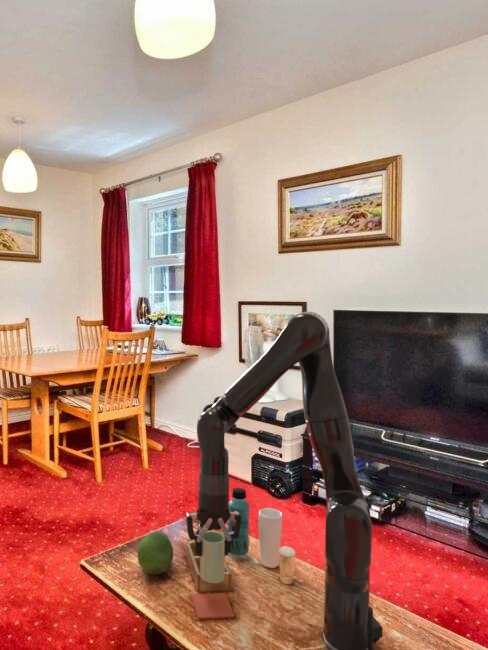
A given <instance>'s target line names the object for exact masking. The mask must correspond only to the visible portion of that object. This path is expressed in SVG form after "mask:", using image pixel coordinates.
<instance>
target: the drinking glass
mask: <svg viewBox="0 0 488 650" xmlns="http://www.w3.org/2000/svg"><path fill="white" fill-rule="evenodd" d="M283 522H284V521H283V512H281V511H280V510H279V509H276V508H273V507H264V508H263V507H262V508H261V509H260V510H258V517H257V523H258V524H257V525H258V526H257V527H258V539H259V540H258V541H259V542H258V543H259V556H260V557H259V560H260V564H261V565H262V566H264V567H265V568H269V569H274V568H277V567H278V566H280V563H279V549H280V548H281V547H282V546H281V545H282V538H283V537H282V536H283V525H284V524H283Z"/></svg>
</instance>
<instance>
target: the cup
mask: <svg viewBox="0 0 488 650" xmlns="http://www.w3.org/2000/svg"><path fill="white" fill-rule="evenodd" d="M201 541H202V556H200V577H201V578H202V579H203V580H204V581H206V582H208V583H220V582H222V581H223V580H224V577H225V561H226V556H225V535H224V533H221V532H219V531H216V530H215V531H214V530H207V532H206V534H205V535H204V536H203V538H202V540H201Z"/></svg>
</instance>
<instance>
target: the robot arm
mask: <svg viewBox="0 0 488 650" xmlns="http://www.w3.org/2000/svg"><path fill="white" fill-rule="evenodd" d="M332 355H333V354H332V349H331V338H330V328H329V324H328V322H327V320H325V318H324V317H323V316H322V315H320V314H319V313H317V312H314V311H302V312H299V313H297V314H295V315H293V316H292V317H290V319H289V320H288V321H287V322H286V325H285V326H284V328H283V330H281V332H280V334H279V335H278V336H277V338H276V339H275V341H274V342H273V343H272V344H271V346H269V348H268V349H267V350H266V352H265V353H264V354H263V355H261V357H260V358H259V359H258V360H256V362H254V363H253V364H252V365H250V367H248V369H247V370H245V371H244V372H243V373H242V374H241V375H240V376H239V377H238V378H237V379H236V380H235V381H234V382H233V383H232V384H231V385H230V386H229V387H228V388H227V389H226V390H225V391H224V393H223V396H221V397H220V398H219V399H218V400H217V401H216V402H215V403H214V404H213V405H212V406H211V407H209V408H207V409H206V410H205V411H203V412H202V413H201V414H200V415H199V417H198V418H197V423H196V438H197V442H198V447H199V448H198V449H199V453H200V455H199V475H198V482H197V487H198V496H197V497H198V499H197V500H198V502H197V504H198V505H197V510H196V512H192V513H190V512H189V511H186V512H185V514H184V515H185V521H186V530H187V535H188V538H189V540H190V541H195V551H196V553H197V554H198V556H202V541H201V540H202V538H203V536H204V535H205V534H206V532H207V531H214V530H215V531H222V534H223V535H224V536H225V557H226V556H227V557H228V556H229V554H230V551H231V540H232V539H234V538H235V539H237V538H238V537H239V531H240V524H241V515H240V513H239V512H238V511H235V512H230V511H229V502H230V475H229V463H230V462H229V458H230V457H229V451H228V449H227V447H225V435H226V433H227V432H228V431H229V430H230V429H231V428H232V427H233V426H234V425H235V424H236V423H237V422H238V421H239V420H240V418H241V417H242V416H243V415H244V414H246V413H248V412H249V411H250V410H251V409H252V408H253V407H254V406H255V405H256V404H257V403H259V401H260V400H261V399H262V398H263V397H264V396H265V395H266V394H267V393H268V392H269V391H270V390H271V388H273V386H274V385H275V384H276V383H277V382H278V381H279V380H280V379H281V378H282V377H283V376H284V375H285V374H286V373H287V372H288V371H289V370H290V369H291V368H292V367H294V366H295V365H297V364H299V369H300V373H301V392H302V406H303V408H302V410H303V414H304V416H303V417H304V421H305V426H306V430H307V434H308V438H309V441H310V445H311V447H312V450H313V452H314V455H315V457H316V459H317V461H318V463H319V466H320V469H321V473H322V476H323V482H324V489H325V499H326V507H325V508H326V511H325V512H326V513H325V528H324V529H325V531H324V532H325V535H324V537H325V538H324V598H323V599H324V601H323V602H324V607H323V610H324V611H323V632H322V635H323V636H322V637H323V638H322V639H323V643H324V645H325V646H326V648H328V649H329V650H373V644H374V645H376V644H377V643H378V641H379V640H380V639H381V638H383V626H382V625H381V623H380V622H379V621H378V620H377V619H376V618H375V616H374V609H373V608H372V606H371V605H370V585H371V584H370V580H371V577H370V575H371V564H372V542H373V541H372V539H373V526H372V525H373V523H372V517H371V510H370V508H369V505H368V502H367V501H366V498H365V495H364V491H363V489H362V486H361V484H360V480H359V477H358V476H359V475H358V473H357V469H356V461H355V447H354V440H353V433H352V428H351V423H350V419H349V415H348V410H347V407H346V403H345V399H344V396H343V393H342V390H341V387H340V384H339V381H338V378H337V375H336V372H335V367H334V363H333V357H332ZM230 517H231V519H232V521H233V524H232V531H230V532H228V527H227V525H226V524H227V523H228V520H229V518H230ZM196 519H198V521H199V523H198V525H197V529H196V531H194V523H196Z"/></svg>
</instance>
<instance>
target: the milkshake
mask: <svg viewBox="0 0 488 650" xmlns="http://www.w3.org/2000/svg"><path fill="white" fill-rule="evenodd" d="M297 552H298V549H296V550H295V549H294V548H292V547H291V546H288V545H283V546H280V549H279V577H280V580H279V581H280V582H281V583H283V584H285V585H292V584H293V582H294V576H295V575H294V574H295V564H296V557H297Z"/></svg>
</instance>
